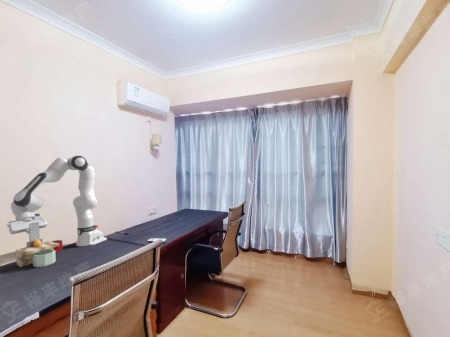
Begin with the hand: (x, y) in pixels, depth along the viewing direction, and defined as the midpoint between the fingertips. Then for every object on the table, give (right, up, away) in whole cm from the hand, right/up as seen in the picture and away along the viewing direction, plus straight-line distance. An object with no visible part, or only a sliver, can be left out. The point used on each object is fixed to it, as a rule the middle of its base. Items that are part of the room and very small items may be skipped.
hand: (33, 234), depth 154 cm
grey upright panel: (+2, -7, -1) cm, 7 cm away
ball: (+5, -5, -3) cm, 8 cm away
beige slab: (+6, -17, -3) cm, 19 cm away
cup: (+13, -17, -6) cm, 22 cm away
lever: (+1, -18, +13) cm, 22 cm away
